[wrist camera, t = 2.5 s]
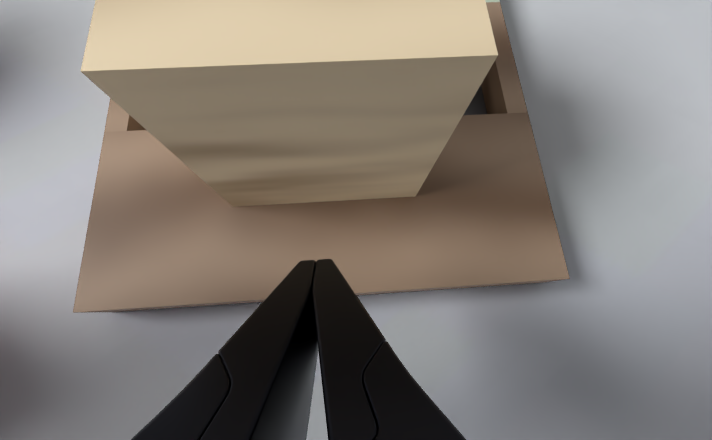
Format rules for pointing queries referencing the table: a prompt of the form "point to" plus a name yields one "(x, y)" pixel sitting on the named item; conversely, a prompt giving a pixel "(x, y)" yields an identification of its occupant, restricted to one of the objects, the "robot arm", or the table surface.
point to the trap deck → (324, 218)
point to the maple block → (295, 88)
